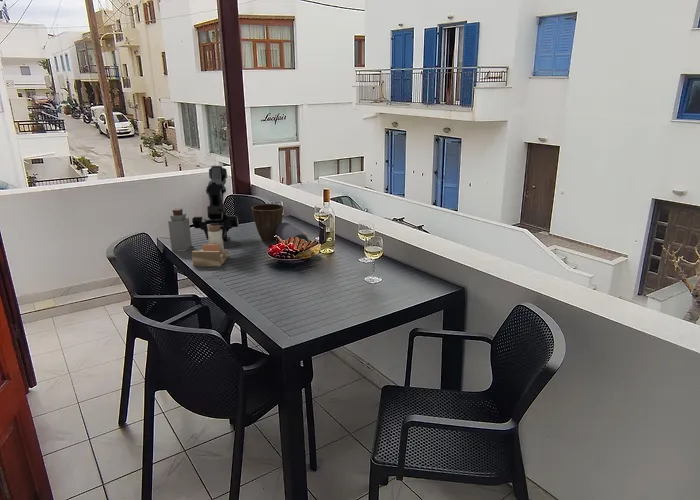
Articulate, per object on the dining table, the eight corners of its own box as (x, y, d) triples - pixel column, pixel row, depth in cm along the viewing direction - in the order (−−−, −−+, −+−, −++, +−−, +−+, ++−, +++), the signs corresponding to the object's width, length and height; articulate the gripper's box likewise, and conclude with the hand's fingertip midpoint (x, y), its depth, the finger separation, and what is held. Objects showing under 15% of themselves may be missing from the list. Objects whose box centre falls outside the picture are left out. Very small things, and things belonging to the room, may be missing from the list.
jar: (216, 249, 206) (214, 223, 202) (227, 251, 203) (224, 224, 200) (206, 253, 201) (204, 226, 197) (217, 255, 198) (214, 227, 195)
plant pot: (250, 237, 229) (248, 205, 224) (279, 234, 235) (278, 202, 230) (258, 245, 216) (255, 211, 211) (289, 241, 222) (287, 208, 217)
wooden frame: (202, 256, 200) (201, 243, 199) (228, 257, 200) (227, 243, 198) (193, 265, 190) (191, 251, 188) (220, 266, 189) (219, 252, 187)
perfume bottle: (186, 250, 209) (182, 211, 204) (171, 250, 209) (166, 211, 204) (191, 246, 215) (187, 207, 210) (177, 245, 216) (172, 207, 210)
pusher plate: (204, 258, 197) (202, 244, 195) (221, 259, 197) (220, 244, 195) (203, 259, 196) (202, 244, 194) (220, 259, 196) (219, 245, 194)
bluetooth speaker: (310, 253, 205) (310, 231, 202) (290, 256, 201) (289, 234, 198) (293, 240, 225) (293, 220, 221) (275, 242, 221) (274, 222, 218)
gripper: (190, 198, 197) (188, 230, 190) (235, 197, 200) (235, 228, 193) (195, 212, 207) (193, 243, 200) (238, 211, 210) (238, 241, 203)
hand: (215, 239), depth 199 cm, fingers closed on jar, 6 cm apart
